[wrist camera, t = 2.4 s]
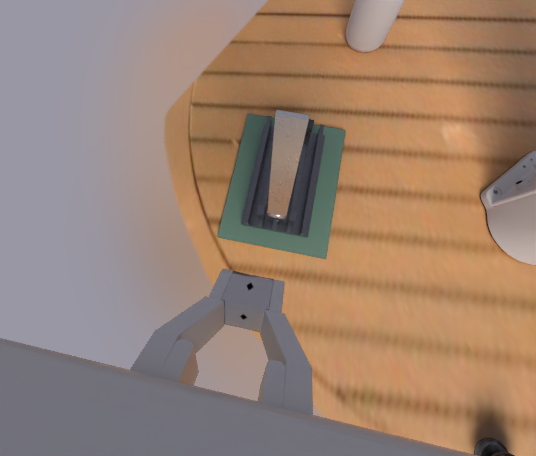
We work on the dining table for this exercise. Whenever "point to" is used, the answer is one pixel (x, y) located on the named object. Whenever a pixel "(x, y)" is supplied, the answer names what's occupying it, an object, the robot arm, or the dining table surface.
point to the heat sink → (302, 188)
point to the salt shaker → (490, 448)
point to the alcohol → (371, 23)
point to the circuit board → (322, 203)
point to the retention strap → (285, 160)
